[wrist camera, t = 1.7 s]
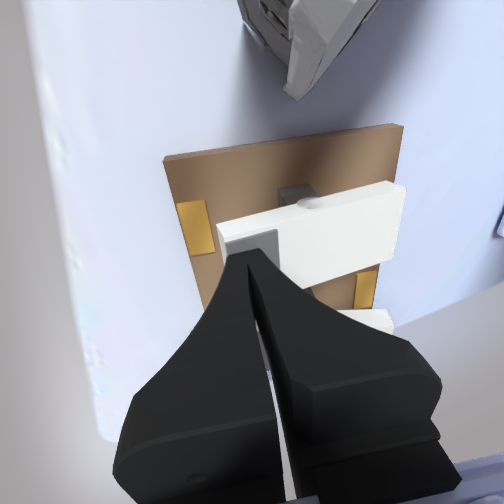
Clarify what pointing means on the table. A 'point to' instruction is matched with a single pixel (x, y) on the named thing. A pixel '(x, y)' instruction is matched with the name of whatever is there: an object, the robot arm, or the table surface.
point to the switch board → (281, 166)
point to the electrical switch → (306, 33)
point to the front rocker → (322, 233)
